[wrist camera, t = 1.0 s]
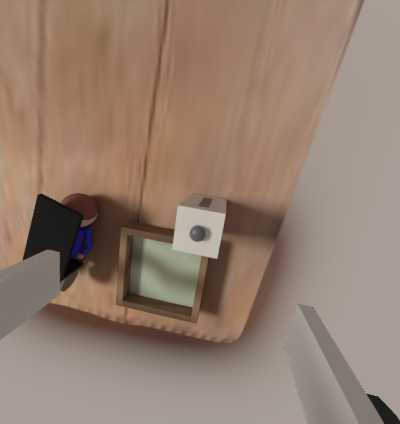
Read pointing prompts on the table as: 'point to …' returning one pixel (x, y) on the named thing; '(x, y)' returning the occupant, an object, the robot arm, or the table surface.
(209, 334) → the table surface
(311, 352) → the robot arm
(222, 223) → the strip block
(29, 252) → the figurine character
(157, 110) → the table surface
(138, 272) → the brown wooden square tray
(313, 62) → the table surface
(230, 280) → the table surface
